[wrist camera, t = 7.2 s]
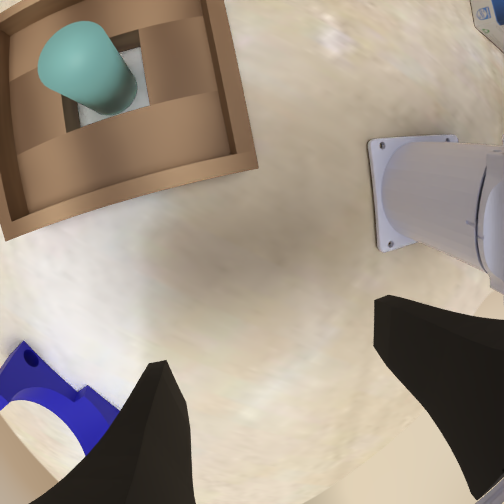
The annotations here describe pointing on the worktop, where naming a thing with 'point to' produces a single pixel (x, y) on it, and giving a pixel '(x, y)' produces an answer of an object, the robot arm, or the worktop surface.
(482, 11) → the string lights box
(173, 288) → the worktop surface
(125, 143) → the peg box
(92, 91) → the peg
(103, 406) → the cable clip
